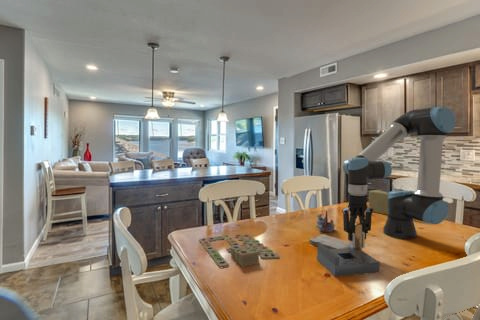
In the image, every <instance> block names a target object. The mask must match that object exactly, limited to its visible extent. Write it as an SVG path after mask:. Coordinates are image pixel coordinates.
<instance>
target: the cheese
mask: <svg viewBox="0 0 480 320" xmlns="http://www.w3.org/2000/svg"><path fill="white" fill-rule="evenodd" d="M388 195H389V192H387V191H383V190H380V189H375V190H374V189H372V190H369V191H368V207H370V208H372V209H373V212H372V213H377V214H381V215H386V216H388Z"/></svg>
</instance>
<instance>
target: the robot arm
mask: <svg viewBox="0 0 480 320" xmlns="http://www.w3.org/2000/svg"><path fill="white" fill-rule="evenodd" d="M456 120H457V119H456V116H455V113H454V112H453V111H452V110H451V109H450V107H447V106H434V107H433V106H432V107H426V108H419V109H418V108H417V109H416V108H415V109H412V110H410V111H407V112H405V113H403V114H401V115H400V116H399V117H397V118H395V120H393V121H392V122H391V123H390V124H389V125H388V128H387V129H386V130H385V131H384V132H382V133H381V135H379V136H378V137H377V138H375V140H374V141H372V142H371V143H370V144H369V145H367V147H365V148H364V149H363V150H362V151H361V152H360V153H358V154H357V155H356V156H355V157H351V158H348V159H346V160H344V162H343V164H342V170H343V172H344V173H345V174H347V175H348V181H347V182H348V184H347V185H348V186H347V193H348V195H347V196H348V197H347V202H348V205H347V208H342V209H341V212H342V214H343V215H342V217H343V231H344V232H346V233H347V240H348V241H349V243H350V245H349V247H351V248H355V234H354V233H353V231H354V226H355V222H357V219H358V220H359V223H362V249H365V247H366V246H365V245H366V244H365V242H366V239H367V234H369V232H371V231H372V230H371V229H372V214H373V213H374V212H373V209H372V208H370V207H369V206H368V205H367V204H368V195H367V194H368V186H369V185H368V184H369V180H377V179H379V180H383V179H387V178H389V177H390V176H391V175H392V173H393V172H392V171H393V168H392V165H391V164H390V162H388V161H385V160H383V161H382V160H378V159H379V158H380V157H382V155H384V154H385V153H386V152H387V151H389V149H391V148H392V147H393V146H394V145H396V143H398V141H400V140H401V139H405V138H406V137H407V136H408V135H412V134H417V135H416V136H417V138H418V139H419V140H420V144H419V158H418V171H417V172H418V173H417V185H416V190H414V191H413V190H392V191H389V192H388V193H389V195H388V215H387V218H386V221H385V223H384V225H383V228H382V229H383V234H385V235H387V236H389V237H391V238H392V237H393V238H396V239H402V240H414V239H416V238H417V237H418V235H417V234H418V231H416V225H415V223H414V220H417V221H419V222H422V223H425V224H431V225H439V224H441V223H442V222H443V221H444V220H445V219H446V218H447V216H448V215H449V210H450V206H449V205H448V202H446V201H445V200H444V195H443V194H442V193H441V192H440V186H441V185H440V183H441V174H442V173H441V171H442V159H443V147H444V145H443V144H444V140H445V139H447V138H448V135H449V133H451V132H452V131H453V130H454V128H455V127H456V123H457V122H456ZM377 160H378V161H377Z"/></svg>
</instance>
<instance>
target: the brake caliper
mask: <svg viewBox="0 0 480 320" xmlns="http://www.w3.org/2000/svg"><path fill="white" fill-rule="evenodd" d="M328 220H329V219H328V210H325V216H322V213H318V214H317V221H316V223H317V225H315V227H316V228H317V229H318V230H319V231H320V232H322V233H333V232H334V231H335V223H334V219H330V221H328Z"/></svg>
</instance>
